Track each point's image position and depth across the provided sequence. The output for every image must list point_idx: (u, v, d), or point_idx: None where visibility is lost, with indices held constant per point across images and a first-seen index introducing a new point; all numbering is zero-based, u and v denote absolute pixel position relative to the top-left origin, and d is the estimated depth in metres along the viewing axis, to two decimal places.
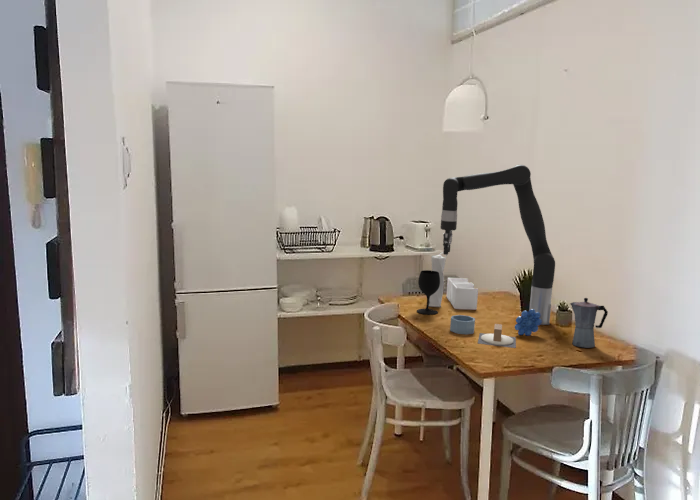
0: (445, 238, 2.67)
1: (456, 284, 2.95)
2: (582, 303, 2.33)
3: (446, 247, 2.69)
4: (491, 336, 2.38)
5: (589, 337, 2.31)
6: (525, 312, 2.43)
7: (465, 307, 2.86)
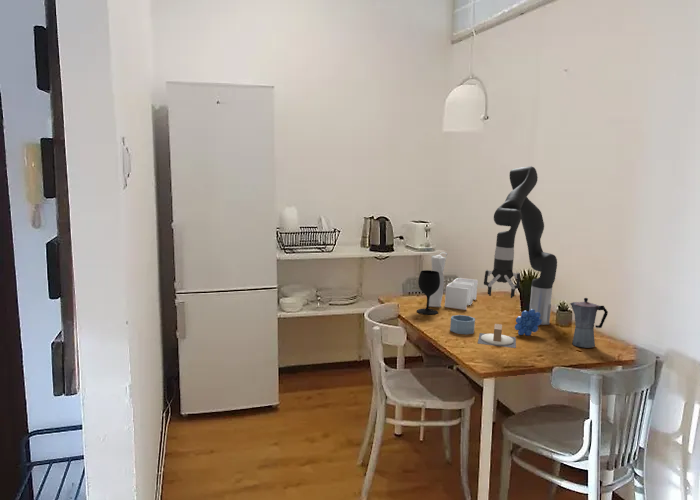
0: (519, 279, 2.30)
1: (455, 283, 2.97)
2: (582, 303, 2.33)
3: None
4: (491, 336, 2.38)
5: (589, 337, 2.31)
6: (525, 312, 2.43)
7: (454, 306, 2.87)
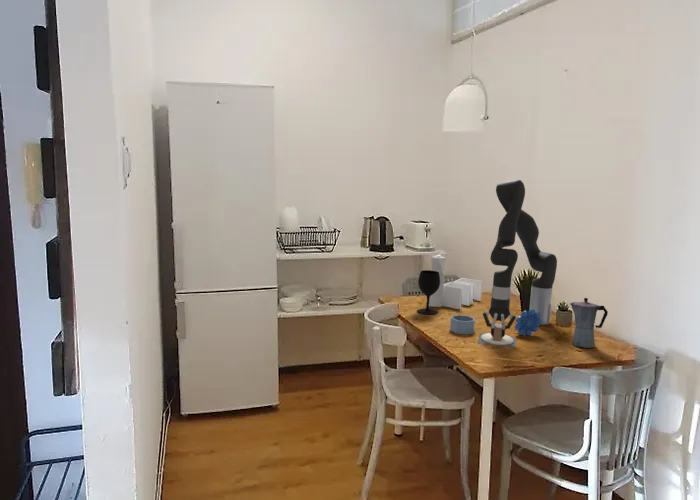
0: (513, 321, 2.33)
1: (454, 283, 2.98)
2: (582, 303, 2.33)
3: None
4: (491, 336, 2.38)
5: (589, 337, 2.31)
6: (525, 312, 2.43)
7: (449, 305, 2.89)
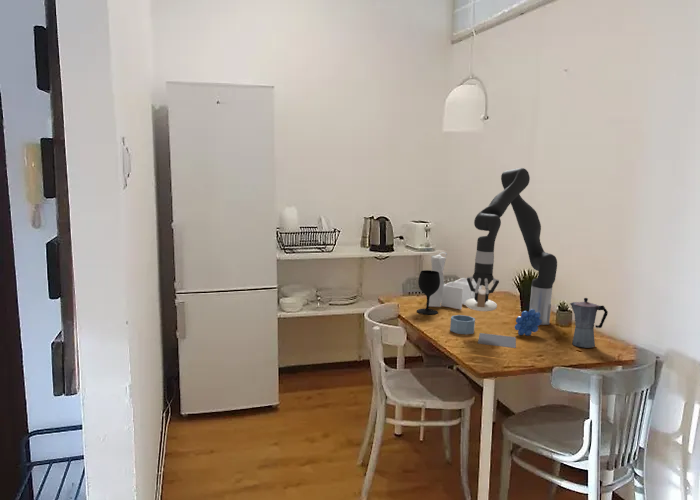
0: (496, 286, 2.37)
1: (455, 283, 2.97)
2: (582, 303, 2.33)
3: None
4: (475, 301, 2.42)
5: (589, 337, 2.31)
6: (525, 312, 2.43)
7: (450, 305, 2.89)
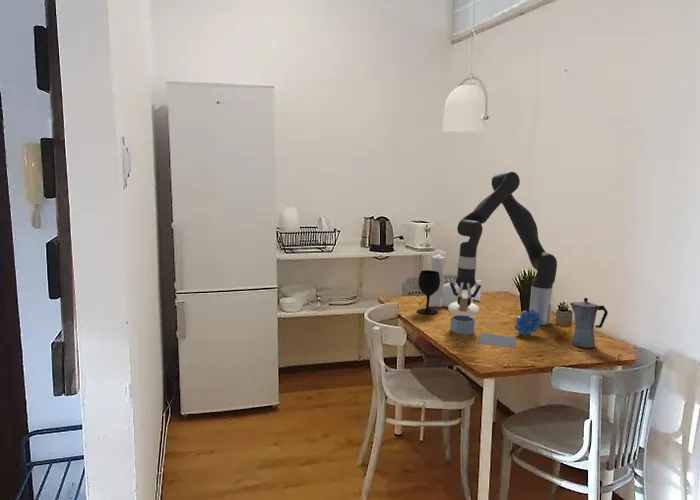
0: (478, 290, 2.43)
1: None
2: (582, 303, 2.33)
3: None
4: (458, 305, 2.48)
5: (589, 337, 2.31)
6: (525, 312, 2.43)
7: None
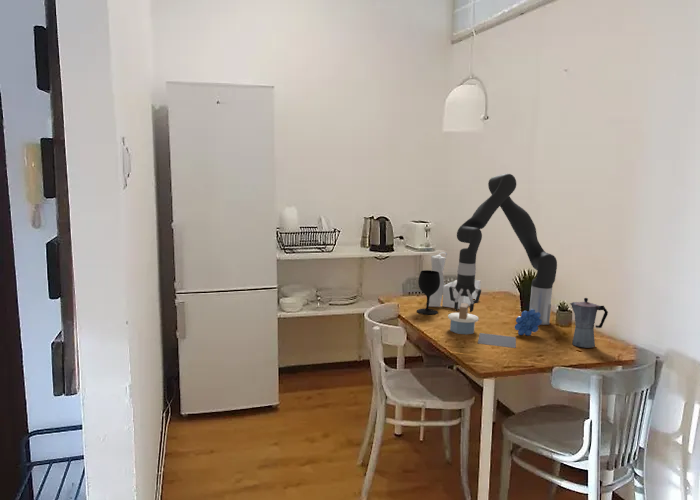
0: None
1: (455, 283, 2.97)
2: (582, 303, 2.33)
3: None
4: (458, 315, 2.49)
5: (589, 337, 2.31)
6: (525, 312, 2.43)
7: (452, 306, 2.88)
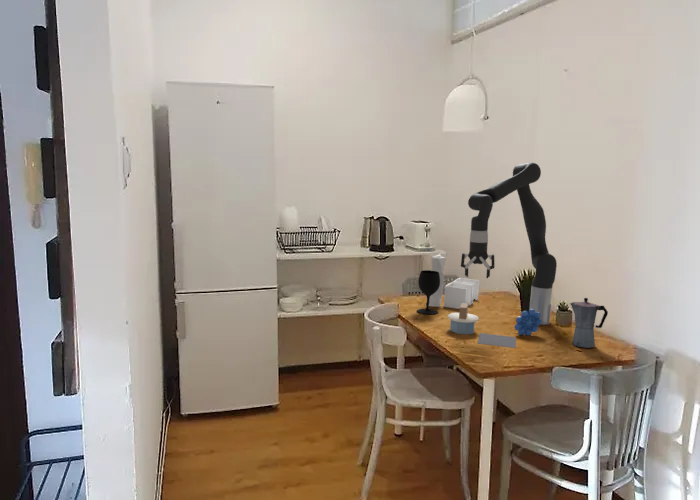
0: None
1: (455, 283, 2.97)
2: (582, 303, 2.33)
3: None
4: (458, 315, 2.49)
5: (589, 337, 2.31)
6: (525, 312, 2.43)
7: (453, 306, 2.88)
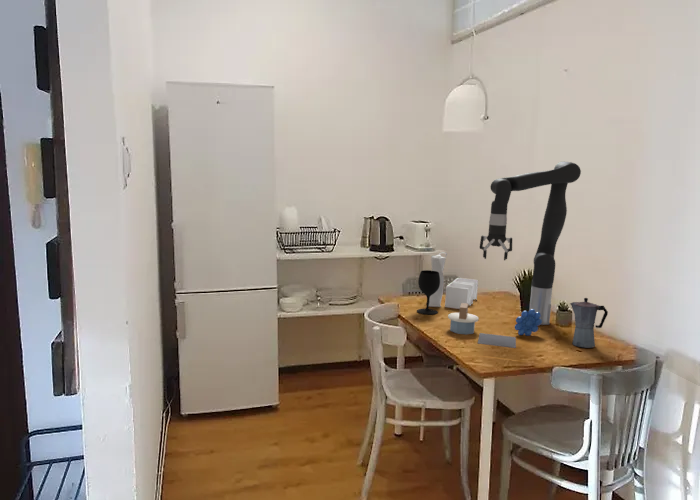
0: None
1: (455, 283, 2.97)
2: (582, 303, 2.33)
3: None
4: (458, 315, 2.49)
5: (589, 337, 2.31)
6: (525, 312, 2.43)
7: (455, 306, 2.87)
